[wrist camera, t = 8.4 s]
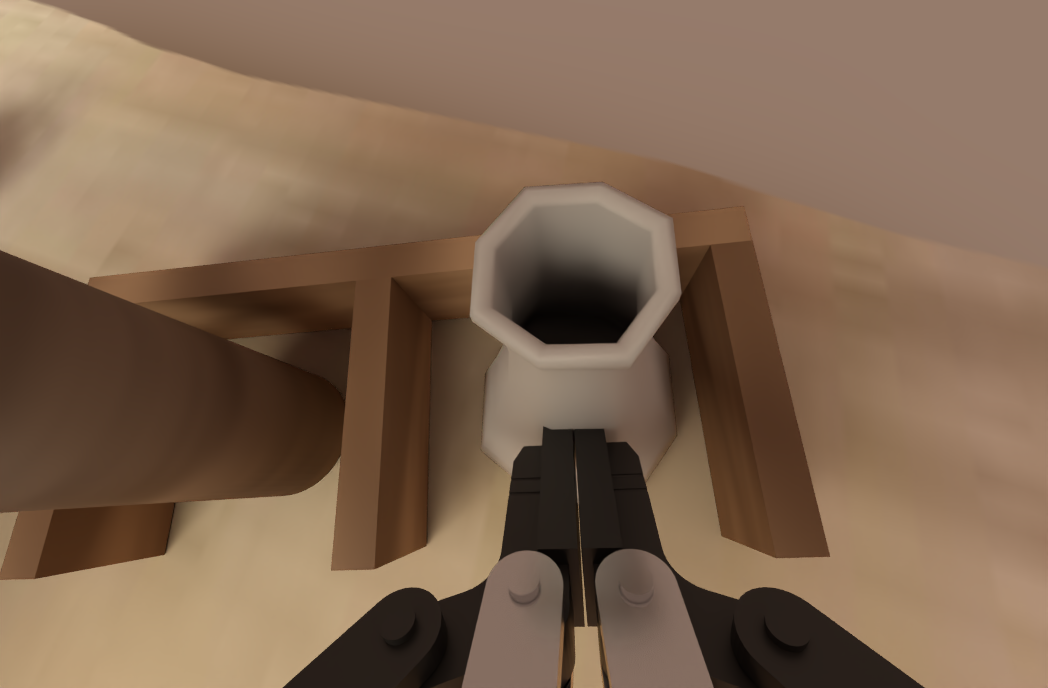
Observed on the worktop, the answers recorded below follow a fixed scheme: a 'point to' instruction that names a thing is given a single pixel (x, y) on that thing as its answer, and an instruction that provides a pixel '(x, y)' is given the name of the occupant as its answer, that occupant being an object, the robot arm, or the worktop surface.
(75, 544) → the rack
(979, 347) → the worktop surface
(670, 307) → the flask
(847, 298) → the worktop surface
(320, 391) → the pepper mill
